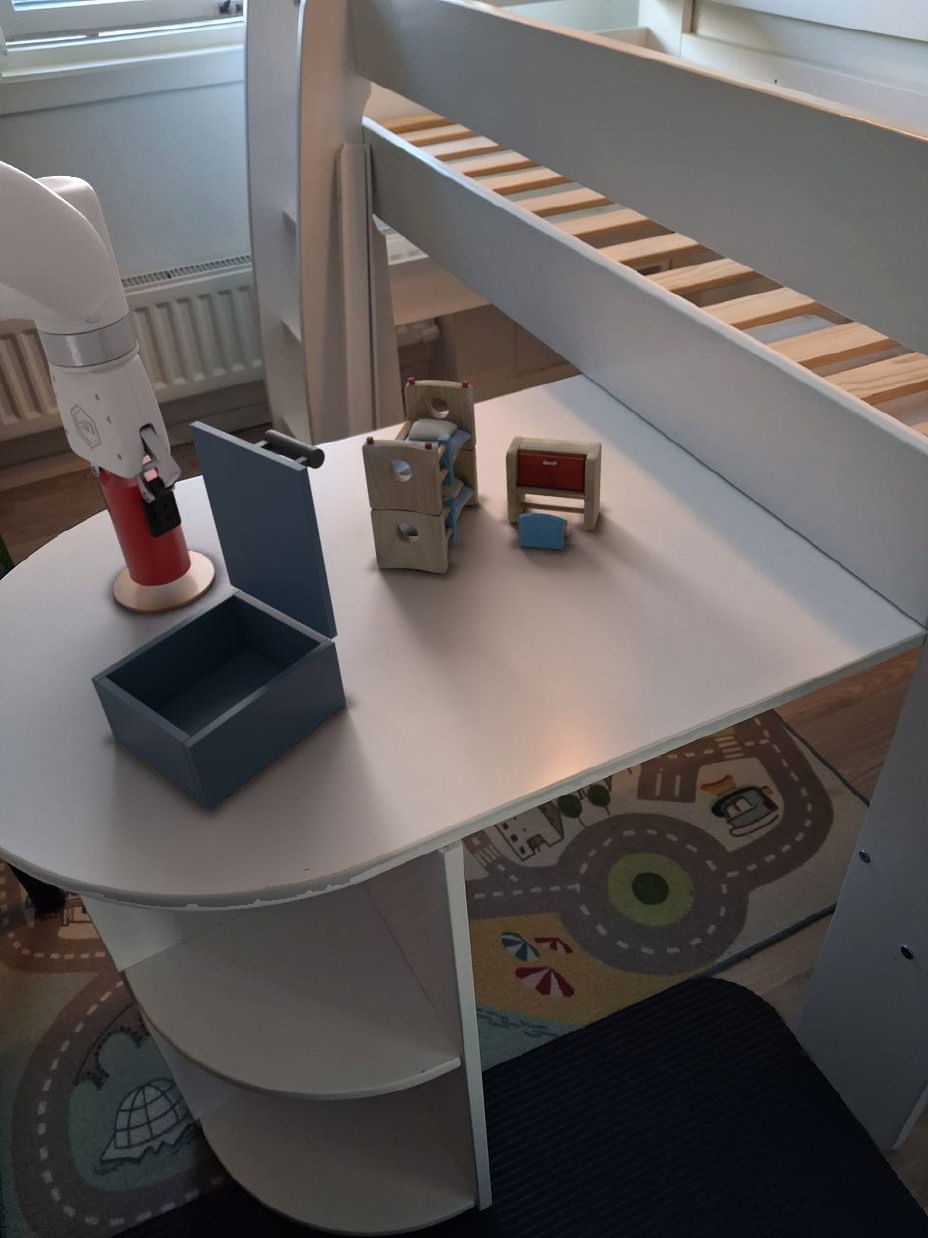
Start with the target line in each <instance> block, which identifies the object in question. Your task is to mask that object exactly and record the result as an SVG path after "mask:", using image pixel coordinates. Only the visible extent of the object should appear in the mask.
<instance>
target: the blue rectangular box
mask: <svg viewBox="0 0 928 1238" xmlns="http://www.w3.org/2000/svg"><path fill="white" fill-rule="evenodd" d="M90 680H91V682H92V684H93V687H94V689H95V690H94V691H95V692H96V695H97V697H98V700H99V702H100V705H101V707H102V709H103V712H104V715H105V717H106V720H107V722H108V726H109V727H110V731H111V732H112V736H113V738H114V740H115V741H117V742H118V743H120V744H121V745H122V746H124V747H125V748H126V749H127V750H129V751H130V752H132V753H133V754H134V755H136V756H137V757H138V758H140V759H141V760H142V761H143V762H145V763H146V764H147V765H149V766H150V767H152V768H153V769H154V770H156V772H158V773H160V774H161V775H162V776H164V778H166V779H168V780H169V781H170V782H171V783H172V784H174V785H176V787H178V788H179V789H181V790H182V791H184V792H185V793H186V794H187V795H189V797H192V798H193V799H194V800H195V801H196V802H198V803H200V804H201V805H202V806H204V808H206V809H208V810H209V811H211V810H212V809H213V808H214V807H216V806H217V805H218V804H221V802H222V801H224V800H225V799H226V798H227V797H229V796H230V795H231V794H232V793H234V792H235V791H236V790H238V789H239V788H240V787H242V786H243V785H244V784H245V783H247V782H248V781H250V780H251V779H252V778H253V777H255V776H256V775H257V774H258V773H259V772H261V771H262V770H264V769H265V768H266V767H267V766H269V765H270V764H271V763H273V762H274V761H275V760H276V759H278V758H279V757H280V756H282V755H283V754H284V753H285V752H287V751H288V750H290V748H292V747H293V746H295V745H296V744H297V743H298V742H300V741H301V739H304V738H305V737H306V736H307V735H308V734H310V733H311V732H312V731H313V730H315V729H317V728H318V726H320V725H321V724H322V723H324V722H325V721H326V720H328V719H329V718H330V717H332V716H333V715H334V714H335V713H337V712H338V711H340V709H342V708H343V707H344V706H346V705H347V699H346V696H345V695H346V694H345V689H344V684H343V678H342V673H341V668H340V662H339V657H338V651H337V646H336V642H335V641H333V640H332V639H331V640H330V639H328V638H327V637H325V636H323V635H321V634H319V633H317V632H316V631H314V630H312V629H310V628H308V627H306V626H305V625H303V624H301V623H299V622H297V621H295V620H294V619H292V618H290V617H288V616H286V615H285V614H283V613H281V612H279V611H277V610H275V609H274V608H272V607H270V606H268V605H266V604H264V603H263V602H261V601H259V600H257V599H255V598H253V597H252V596H250V595H248V594H246V593H244V592H242V591H241V590H239V589H237V588H235V587H233V588H232V589H231V590H229V591H227V592H226V593H224V594H223V595H221V596H220V597H217V598H216V599H215V600H213V601H212V602H210V603H208V604H206V605H204V607H202V608H200V609H198V610H197V611H195V612H194V613H192V614H191V615H190V616H188V617H186V618H184V619H183V620H181V621H180V622H178V623H177V624H175V625H173V626H172V627H170V628H169V629H167V630H165V631H164V632H162V633H161V634H159V635H157V636H156V637H154V638H152V639H151V640H150V641H148V642H146V643H144V644H143V645H141V646H139V647H138V648H137V649H135V650H133V651H131V652H130V653H129V654H127V655H125V656H124V657H122V658H121V659H119V660H118V661H115V662H114V663H113V664H111V665H110V666H108V667H107V668H105V669H103V670H102V671H100V672H99V673H97V674H95V675H94V676H92V677H90Z"/></svg>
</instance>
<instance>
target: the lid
mask: <svg viewBox="0 0 928 1238" xmlns="http://www.w3.org/2000/svg"><path fill="white" fill-rule="evenodd" d="M189 430H190V433H191V437H192V440H193V444H194V448H195V452H196V456H197V460H198V464H199V468H200V472H201V475H202V479H203V484H204V487H205V492H206V495H207V499H208V502H209V507H210V510H211V515H212V519H213V522H214V526H215V531H216V533H217V538H218V541H219V546H220V550H221V553H222V557H223V562H224V566H225V569H226V573H227V577H228V580H229V583H230V586H232V587H233V588H236V589H238V590H240V591H242V592H244V593H246V594H248V595H250V596H251V597H253V598H255V599H257V600H259V601H261V602H262V603H264V604H266V605H268V606H270V607H271V608H273V609H275V610H277V611H279V612H281V613H282V614H284V615H286V616H288V617H290V618H292V619H293V620H295V621H297V622H299V623H301V624H303V625H304V626H306V627H308V628H310V629H312V630H314V631H315V632H317V633H319V634H321V635H323V636H324V637H326V638H328V639H330V640H331V641H332V640H333V639H334V638H336V637H337V636H338V629H337V624H336V618H335V613H334V607H333V601H332V595H331V591H330V586H329V585H330V584H329V579H328V573H327V568H326V564H325V558H324V553H323V552H324V551H323V546H322V541H321V536H320V535H321V534H320V530H319V525H318V519H317V513H316V508H315V502H314V497H313V492H312V485H311V481H310V475H309V469H308V468H311V469H313V470H317V469H320V468H321V467H322V466H323V464H324V463H325V459H326V454H325V451H324V450H323V449H322V448H319V447H317V446H316V445H315V446H314V445H312V444H310V443H307V442H305V441H302V440H300V439H297V438H295V437H292V436H289V435H288V434H284V433H283V432H280V431H277V430H275V429H269V430H267V431H266V432H265V433H264V434H263V437H262V440H260V441H259V442H257V443H255V444H253V443H252V442H251V443H250V442H248V441H246V440H244V439H241V438H239V437H236V436H235V435H232V434H229V433H227V432H224V431H222V430H219V429H217V428H215V427H213V426H210V425H208V424H205V423H203V422H200V421H198V420H196V421H194V422H192V423H190V424H189Z"/></svg>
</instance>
